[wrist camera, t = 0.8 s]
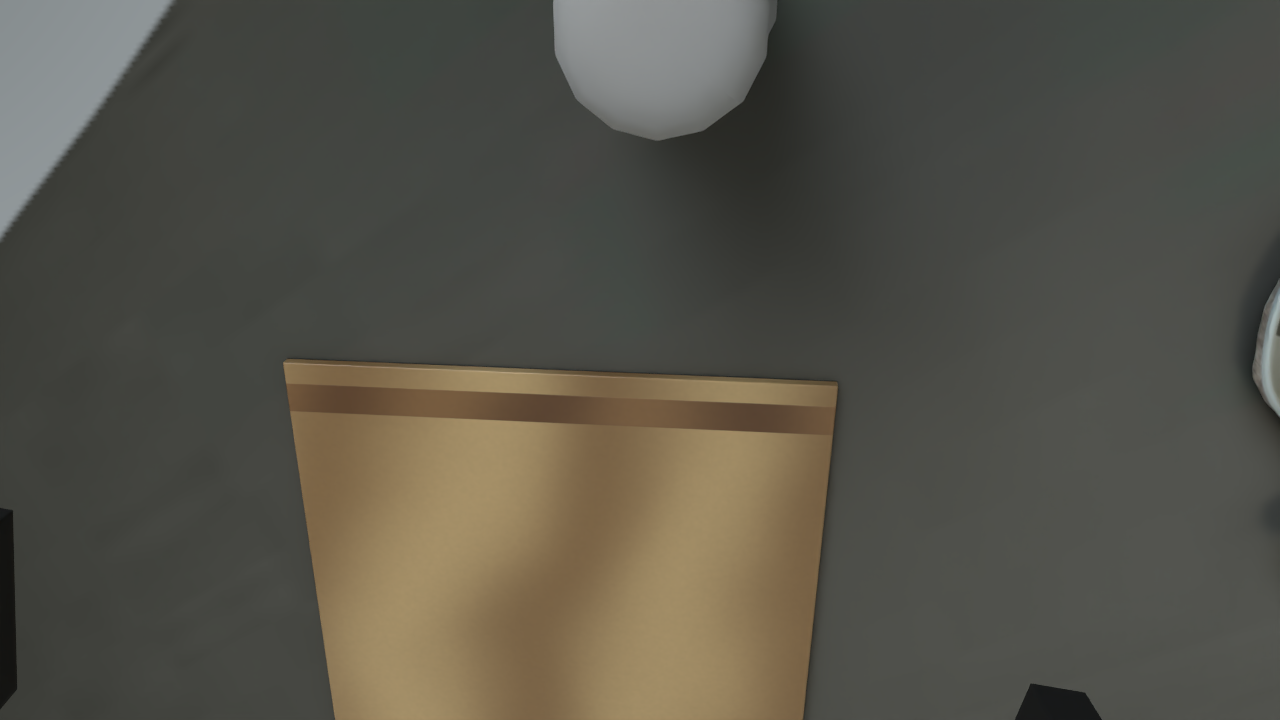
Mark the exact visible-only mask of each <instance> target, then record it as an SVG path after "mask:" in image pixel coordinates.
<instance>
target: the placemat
mask: <svg viewBox="0 0 1280 720" xmlns="http://www.w3.org/2000/svg"><path fill="white" fill-rule="evenodd" d="M283 366H284V372H285V379H286V387H287V394H288V400H289V407H290V413H291V420H292V427H293V434H294V441H295V448H296V455H297V461H298V468H299V475H300V482H301V489H302V496H303V503H304V509H305V516H306V523H307V530H308V537H309V544H310V550H311V557H312V564H313V571H314V578H315V585H316V592H317V598H318V605H319V612H320V619H321V626H322V633H323V640H324V646H325V653H326V660H327V667H328V674H329V681H330V687H331V694H332V701H333V708H334V715H335V720H803V715H804V706H805V696H806V687H807V677H808V668H809V658H810V649H811V640H812V630H813V621H814V611H815V602H816V592H817V583H818V573H819V564H820V554H821V545H822V535H823V526H824V516H825V507H826V497H827V488H828V479H829V469H830V460H831V450H832V441H833V431H834V422H835V413H836V403H837V393H838V384H837V382H833V381H809V380H785V379H761V378H737V377H713V376H689V375H665V374H641V373H617V372H593V371H569V370H545V369H521V368H497V367H473V366H449V365H425V364H401V363H377V362H353V361H329V360H305V359H286V360H285V361H284V363H283Z"/></svg>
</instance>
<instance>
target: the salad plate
mask: <svg viewBox="0 0 1280 720" xmlns="http://www.w3.org/2000/svg"><path fill="white" fill-rule="evenodd" d="M1252 374H1253V379H1254V381H1255V383H1256V385H1257V387H1258V389H1259V391H1260V393H1261V395H1262V397H1263V400H1264V401H1265V402H1266V403H1267V404H1268V406H1269V407H1270V408H1271V409H1272V410H1274V412H1275V413H1276V414H1277V415H1278V416H1279V418H1280V278H1279V280H1278V282H1277V284H1276V286H1275V288H1274V290H1273V291H1272V293H1271V295H1270V297H1269V299H1268V301H1267V302H1266V304H1265V306H1264V310H1263V314H1262V319H1261V322H1260V326H1259V330H1258V335H1257V343H1256V352H1255V358H1254V362H1253V366H1252Z"/></svg>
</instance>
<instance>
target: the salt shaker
mask: <svg viewBox="0 0 1280 720" xmlns="http://www.w3.org/2000/svg"><path fill="white" fill-rule="evenodd" d="M553 12H554V40H555V55H556V58H557V60H558V62H559V64H560V66H561V68H562V70H563V73H564V75H565V77H566V79H567V81H568V83H569V85H570V88H571V90H572V92H573V94H574V96H575V98H576V100H577V101H579V102H580V103H581V104H582V105H584V106H585V107H586V108H587V109H588V110H590V111H591V112H592V113H593V114H595V115H596V116H597V117H598V118H600V119H601V120H602V121H603V122H605V123H606V124H607V125H608V126H609V127H611V128H612V129H614V130H618V131H622V132H626V133H629V134H633V135H637V136H641V137H644V138H648V139H652V140H656V141H659V140H663V139H668V138H673V137H677V136H682V135H686V134H691V133H696V132H700V131H703V130H705V129H706V128H708V127H709V126H710V125H712V124H713V123H715V122H716V121H717V120H719V119H720V118H721V117H723V116H724V115H725V114H727V113H728V112H729V111H731V110H732V109H734V108H735V107H736V106H738V105H739V104H740V103H742V102H743V101H744V99H745V97H746V95H747V93H748V91H749V90H750V88H751V86H752V84H753V82H754V80H755V78H756V76H757V74H758V72H759V70H760V68H761V66H762V64H763V62H764V61H765V59H766V57H767V43H768V35H769V33H770V31H771V29H772V27H773V25H774V23H775V21H776V12H777V0H554V1H553Z"/></svg>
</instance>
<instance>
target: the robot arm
mask: <svg viewBox="0 0 1280 720" xmlns="http://www.w3.org/2000/svg"><path fill="white" fill-rule="evenodd" d="M16 690H17V665H16V624H15V583H14V542H13V510H8V509H2V508H0V709H1V708H2V706H3V705H4V704H5V703H6V702H7V700H8V699H9V698H10V697H11V696H12V695H13V693H14V692H15V691H16ZM1015 720H1102V719H1101V718H1100V716H1099V714H1098V713H1097V711H1096V710H1095V708H1094V706H1093V705H1092V703H1091V702H1090V700H1089V698H1088V697H1087V695H1086V693H1084V692H1078V691H1072V690H1066V689H1060V688H1054V687H1048V686H1042V685H1037V684H1030V687H1029V689H1028V691H1027V693H1026V696H1025V698H1024V700H1023V703H1022V705H1021V707H1020V709H1019V712H1018V714H1017V716H1016V719H1015Z"/></svg>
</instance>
